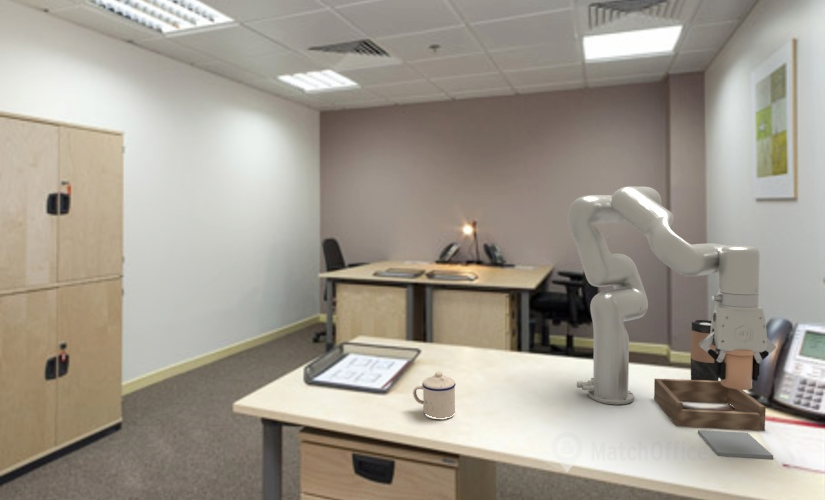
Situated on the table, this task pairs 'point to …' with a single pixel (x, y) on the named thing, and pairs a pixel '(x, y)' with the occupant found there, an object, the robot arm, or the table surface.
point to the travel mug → (701, 353)
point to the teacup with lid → (437, 396)
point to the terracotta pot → (738, 369)
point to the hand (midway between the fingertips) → (736, 377)
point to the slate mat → (734, 444)
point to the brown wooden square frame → (710, 392)
